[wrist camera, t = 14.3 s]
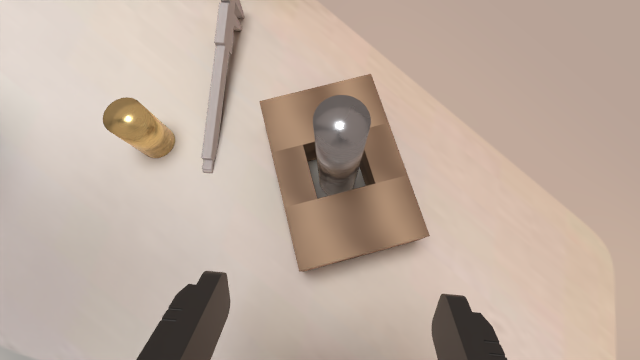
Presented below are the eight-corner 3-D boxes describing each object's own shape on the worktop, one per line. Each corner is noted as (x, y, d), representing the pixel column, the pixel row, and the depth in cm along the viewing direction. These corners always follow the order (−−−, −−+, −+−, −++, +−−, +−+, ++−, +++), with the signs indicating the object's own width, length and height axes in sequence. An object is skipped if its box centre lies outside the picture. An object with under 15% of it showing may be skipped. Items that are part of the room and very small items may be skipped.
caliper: (236, 16, 39) (219, -31, 32) (245, 17, 38) (229, -31, 32) (204, 173, 33) (175, 150, 27) (214, 173, 33) (187, 151, 27)
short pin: (143, 161, 33) (104, 138, 27) (140, 131, 34) (101, 102, 28) (176, 153, 33) (144, 128, 27) (172, 123, 34) (141, 93, 28)
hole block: (303, 271, 29) (299, 271, 25) (268, 123, 34) (259, 101, 30) (415, 241, 30) (429, 235, 26) (365, 98, 34) (370, 73, 30)
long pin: (324, 201, 31) (320, 153, 19) (315, 168, 32) (306, 102, 20) (359, 192, 31) (378, 139, 19) (349, 159, 32) (361, 89, 20)
